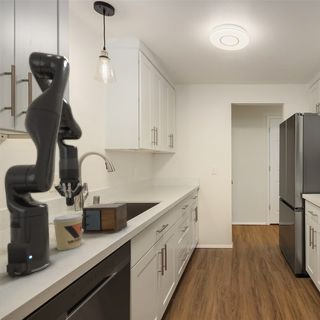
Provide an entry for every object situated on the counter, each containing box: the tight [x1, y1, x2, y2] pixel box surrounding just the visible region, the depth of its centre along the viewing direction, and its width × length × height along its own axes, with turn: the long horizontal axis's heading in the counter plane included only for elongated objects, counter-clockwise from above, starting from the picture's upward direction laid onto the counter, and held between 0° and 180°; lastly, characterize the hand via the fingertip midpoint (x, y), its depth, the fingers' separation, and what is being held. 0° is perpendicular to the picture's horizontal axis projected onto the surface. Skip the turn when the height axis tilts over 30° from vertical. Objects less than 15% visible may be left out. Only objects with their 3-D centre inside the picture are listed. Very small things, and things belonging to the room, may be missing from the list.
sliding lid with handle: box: [82, 210, 101, 230], centre depth 110 cm, size 5×7×9 cm
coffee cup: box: [53, 213, 83, 251], centre depth 94 cm, size 9×9×12 cm
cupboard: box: [82, 202, 128, 234], centre depth 116 cm, size 10×16×12 cm, turn 89°
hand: (70, 205), depth 108 cm, fingers closed
